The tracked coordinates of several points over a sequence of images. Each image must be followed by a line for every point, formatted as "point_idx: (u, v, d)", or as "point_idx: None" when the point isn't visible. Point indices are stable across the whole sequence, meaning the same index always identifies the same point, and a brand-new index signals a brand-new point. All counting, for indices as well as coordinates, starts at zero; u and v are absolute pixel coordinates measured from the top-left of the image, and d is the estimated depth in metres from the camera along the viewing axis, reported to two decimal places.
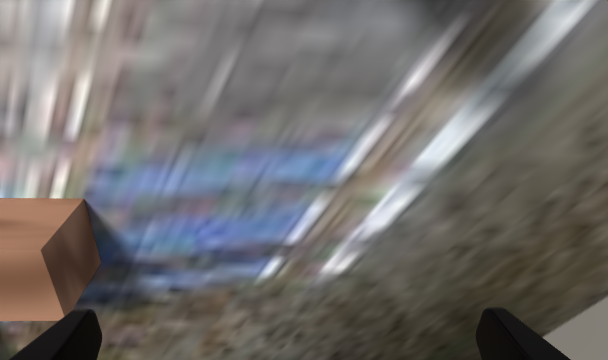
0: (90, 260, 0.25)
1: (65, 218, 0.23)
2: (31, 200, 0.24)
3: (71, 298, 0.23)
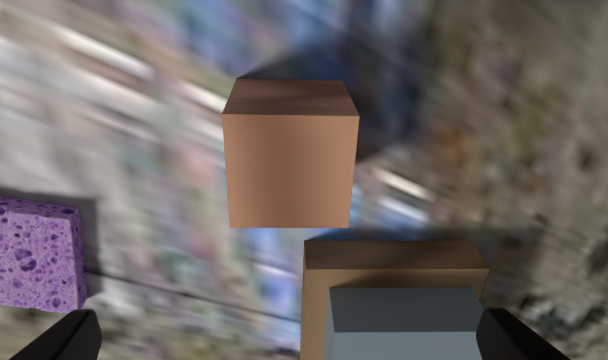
0: (321, 86, 0.18)
1: (231, 93, 0.17)
2: None
3: (339, 106, 0.16)
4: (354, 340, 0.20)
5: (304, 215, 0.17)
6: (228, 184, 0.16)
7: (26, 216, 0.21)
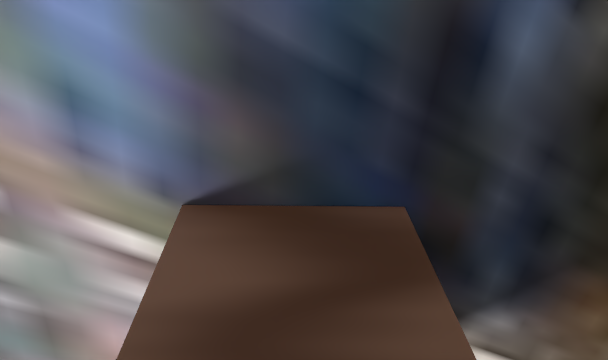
0: (365, 238, 0.08)
1: (153, 278, 0.07)
2: None
3: (432, 358, 0.06)
4: None
5: None
6: None
7: None
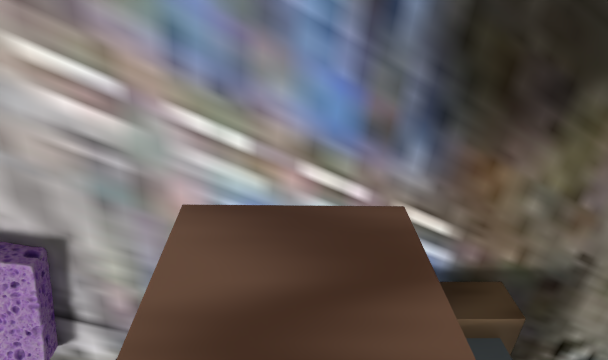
0: (364, 238, 0.08)
1: (153, 277, 0.07)
2: None
3: (431, 358, 0.06)
4: None
5: None
6: None
7: None
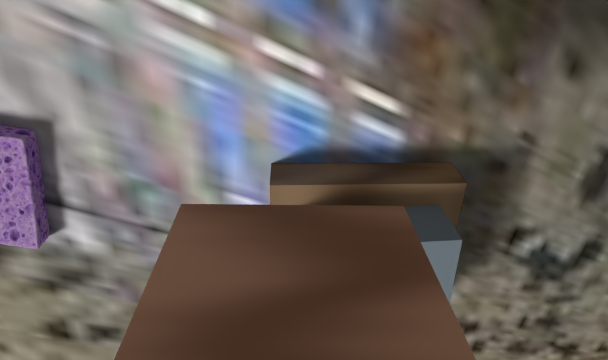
0: (364, 237, 0.08)
1: (151, 277, 0.07)
2: None
3: (431, 358, 0.06)
4: None
5: None
6: None
7: None
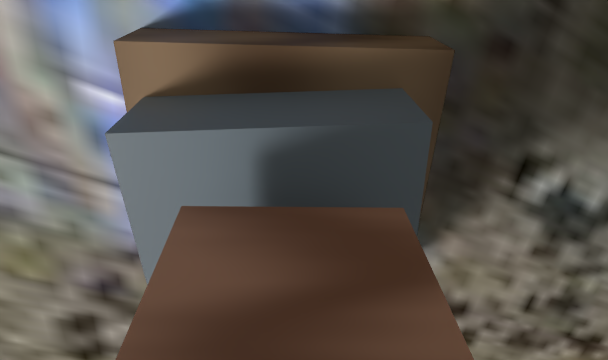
0: (364, 239, 0.08)
1: (152, 279, 0.07)
2: None
3: None
4: (152, 153, 0.10)
5: None
6: None
7: None
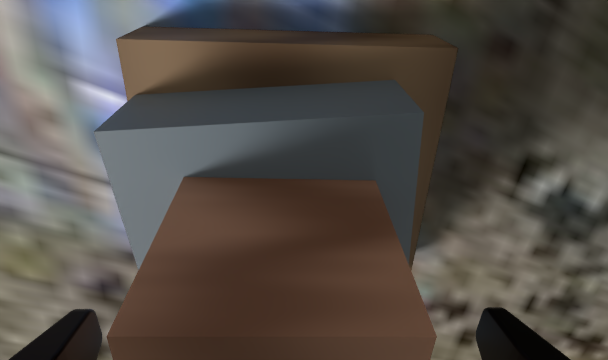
0: (338, 203, 0.09)
1: (159, 231, 0.08)
2: None
3: (383, 288, 0.07)
4: (142, 150, 0.10)
5: None
6: None
7: None
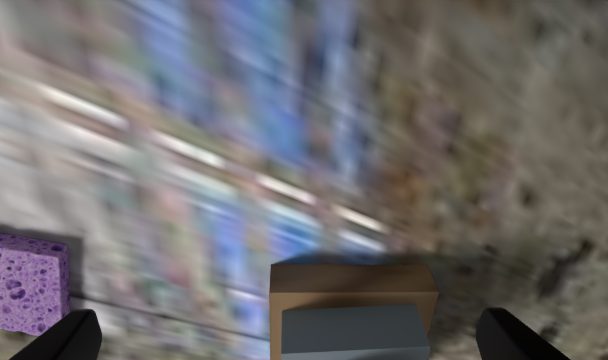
0: None
1: None
2: None
3: None
4: None
5: None
6: None
7: (18, 253, 0.23)
